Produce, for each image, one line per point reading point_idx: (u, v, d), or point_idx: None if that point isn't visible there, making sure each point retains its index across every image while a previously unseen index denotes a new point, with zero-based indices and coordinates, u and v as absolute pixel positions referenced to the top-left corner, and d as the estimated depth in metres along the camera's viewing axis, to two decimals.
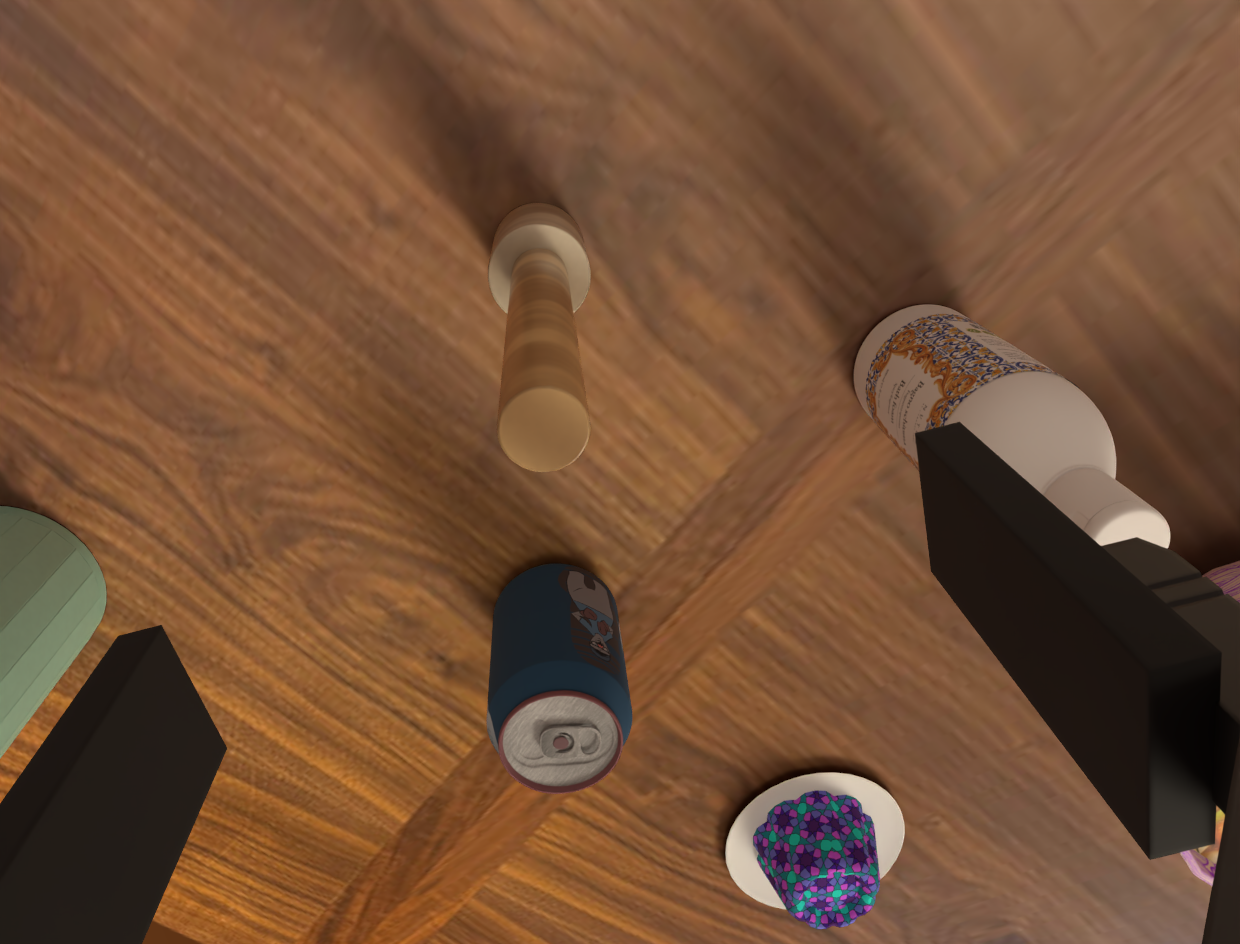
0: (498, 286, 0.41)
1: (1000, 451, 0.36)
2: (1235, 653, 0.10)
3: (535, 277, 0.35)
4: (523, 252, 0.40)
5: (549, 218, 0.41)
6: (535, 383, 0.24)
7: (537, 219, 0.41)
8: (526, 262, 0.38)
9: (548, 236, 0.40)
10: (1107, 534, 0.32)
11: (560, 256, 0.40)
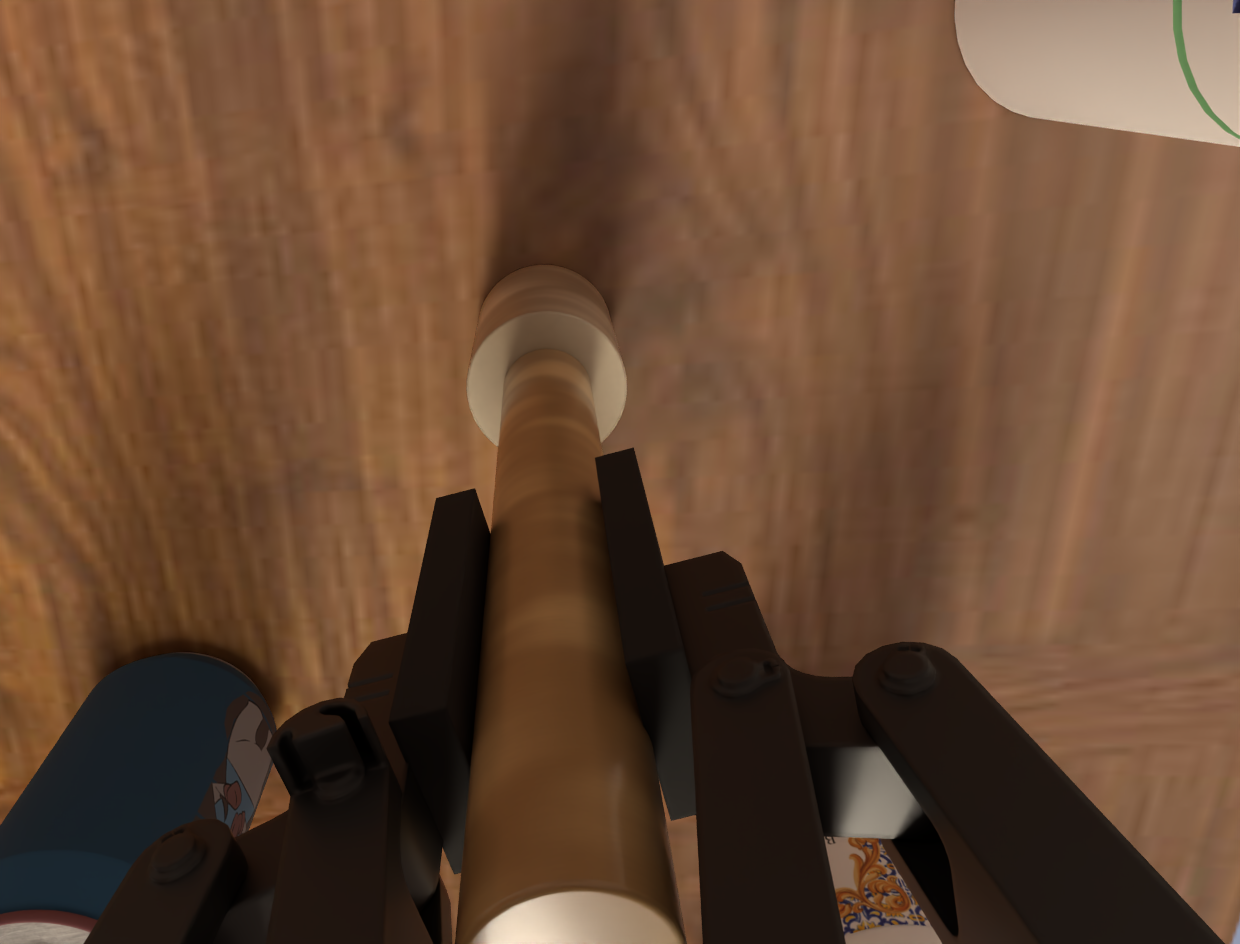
0: (487, 358, 0.26)
1: None
2: (728, 649, 0.13)
3: (582, 432, 0.21)
4: (555, 348, 0.26)
5: (610, 329, 0.27)
6: (638, 879, 0.10)
7: (599, 321, 0.27)
8: (563, 378, 0.23)
9: (600, 357, 0.26)
10: None
11: (592, 390, 0.26)
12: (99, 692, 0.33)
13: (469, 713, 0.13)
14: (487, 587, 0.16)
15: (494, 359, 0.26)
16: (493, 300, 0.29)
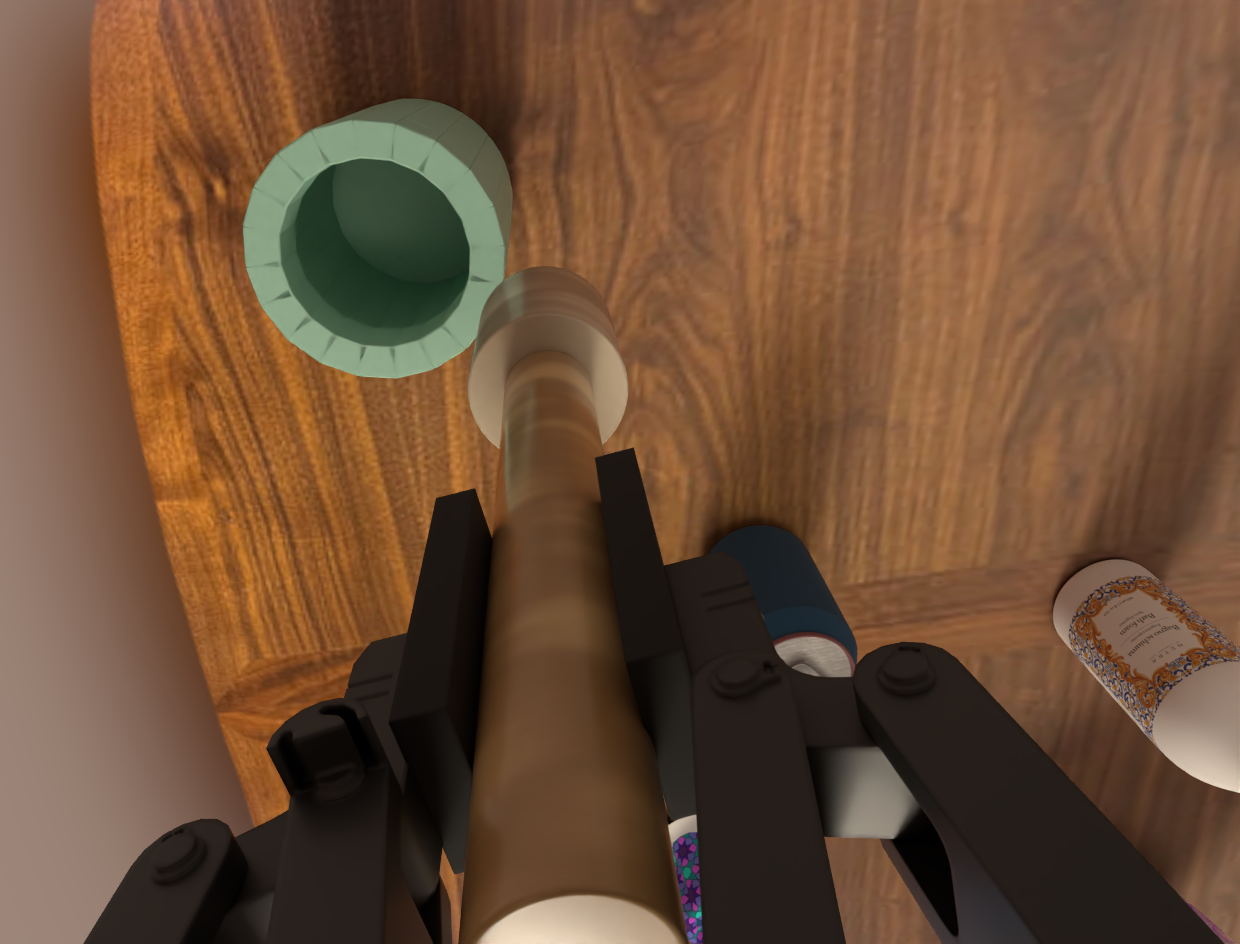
0: (488, 361, 0.26)
1: None
2: (728, 649, 0.13)
3: (584, 434, 0.21)
4: (556, 350, 0.26)
5: (611, 331, 0.27)
6: (641, 882, 0.10)
7: (600, 323, 0.27)
8: (564, 380, 0.23)
9: (602, 359, 0.26)
10: None
11: (593, 392, 0.26)
12: (734, 543, 0.56)
13: (469, 713, 0.13)
14: (489, 590, 0.16)
15: (495, 361, 0.26)
16: (494, 302, 0.29)
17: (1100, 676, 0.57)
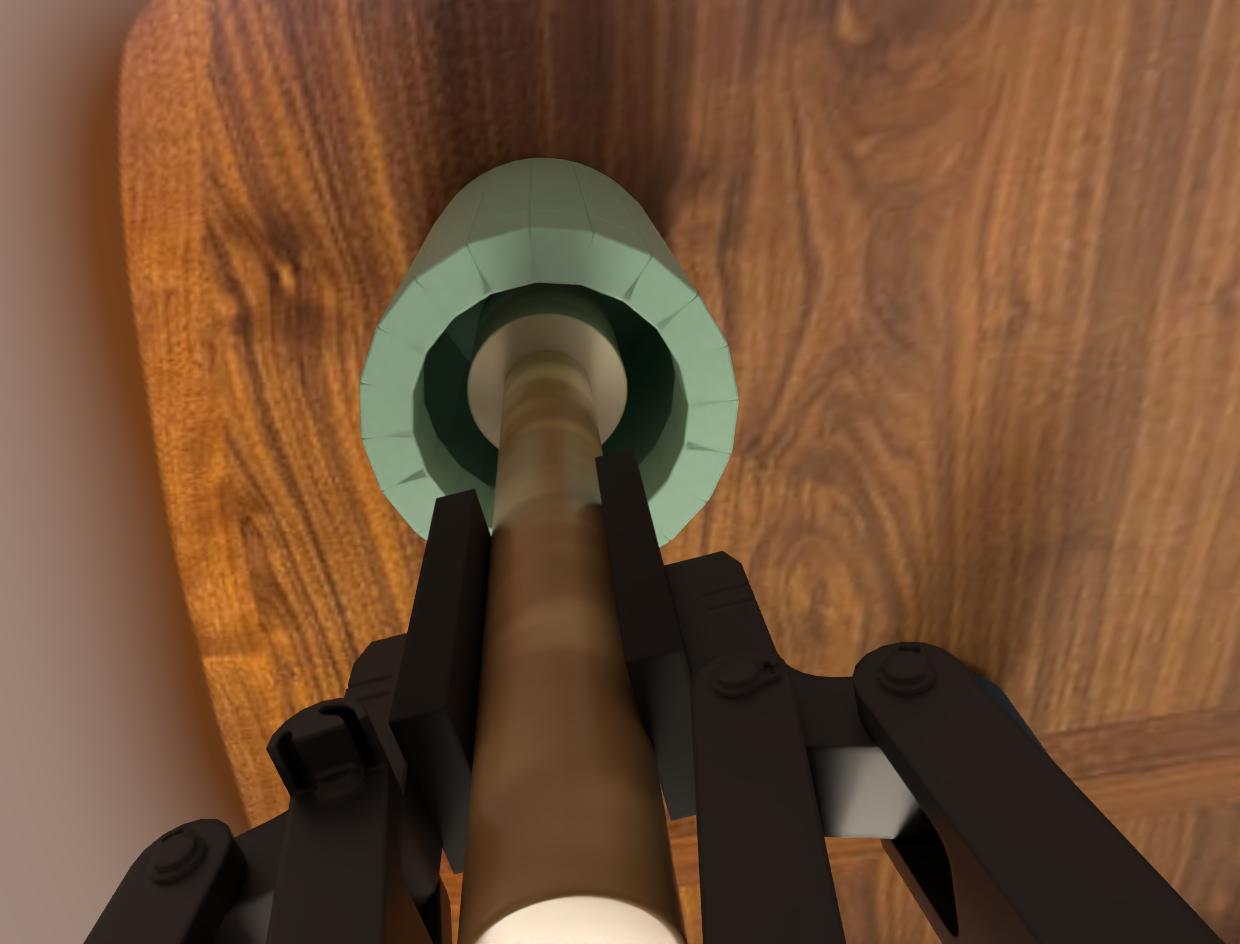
0: (488, 361, 0.26)
1: None
2: (728, 649, 0.13)
3: (583, 434, 0.21)
4: (555, 350, 0.26)
5: (610, 331, 0.27)
6: (640, 884, 0.10)
7: (599, 323, 0.27)
8: (563, 380, 0.23)
9: (601, 359, 0.26)
10: None
11: (592, 392, 0.26)
12: None
13: (469, 713, 0.13)
14: (488, 590, 0.16)
15: (494, 361, 0.26)
16: (493, 302, 0.29)
17: None
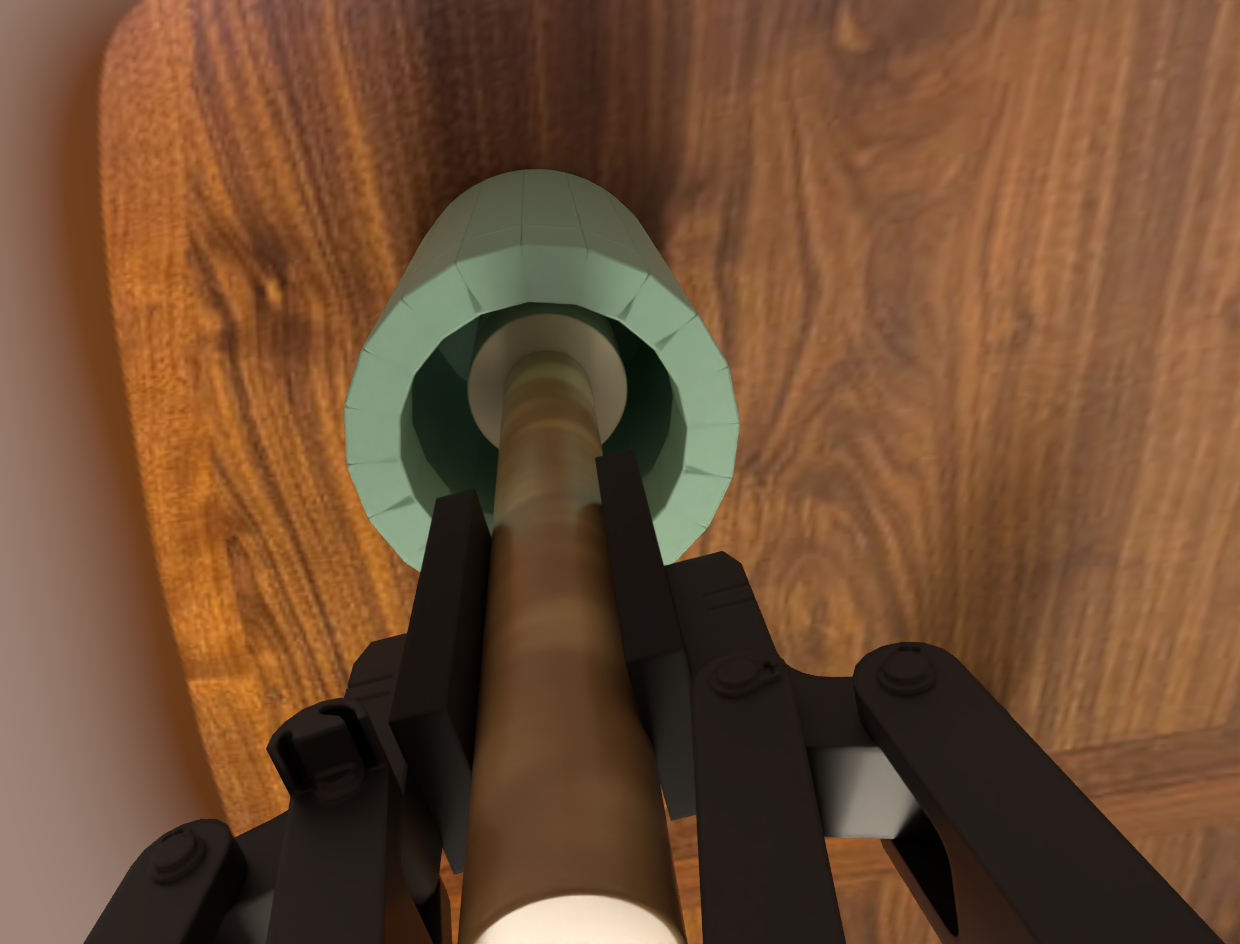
0: (488, 361, 0.26)
1: None
2: (728, 649, 0.13)
3: (583, 434, 0.21)
4: (556, 350, 0.26)
5: (610, 331, 0.27)
6: (640, 882, 0.10)
7: (600, 323, 0.27)
8: (563, 380, 0.23)
9: (601, 359, 0.26)
10: None
11: (592, 392, 0.26)
12: None
13: (469, 713, 0.13)
14: (488, 590, 0.16)
15: (494, 361, 0.26)
16: None
17: None
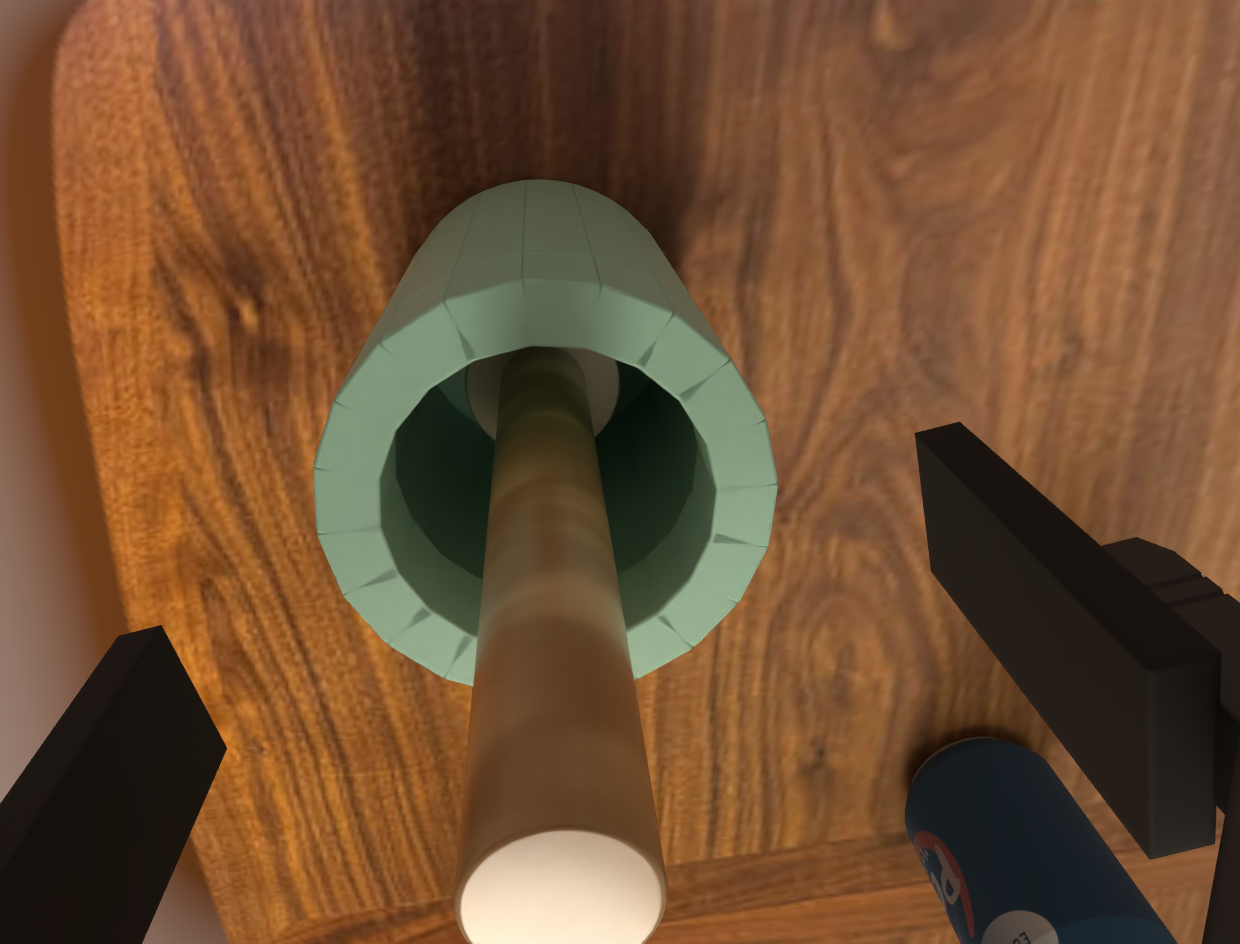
0: None
1: None
2: (1235, 653, 0.10)
3: (576, 424, 0.22)
4: None
5: None
6: (622, 821, 0.10)
7: None
8: (558, 373, 0.24)
9: (594, 354, 0.27)
10: None
11: (586, 386, 0.27)
12: (964, 775, 0.40)
13: None
14: (485, 568, 0.17)
15: (492, 356, 0.27)
16: None
17: None
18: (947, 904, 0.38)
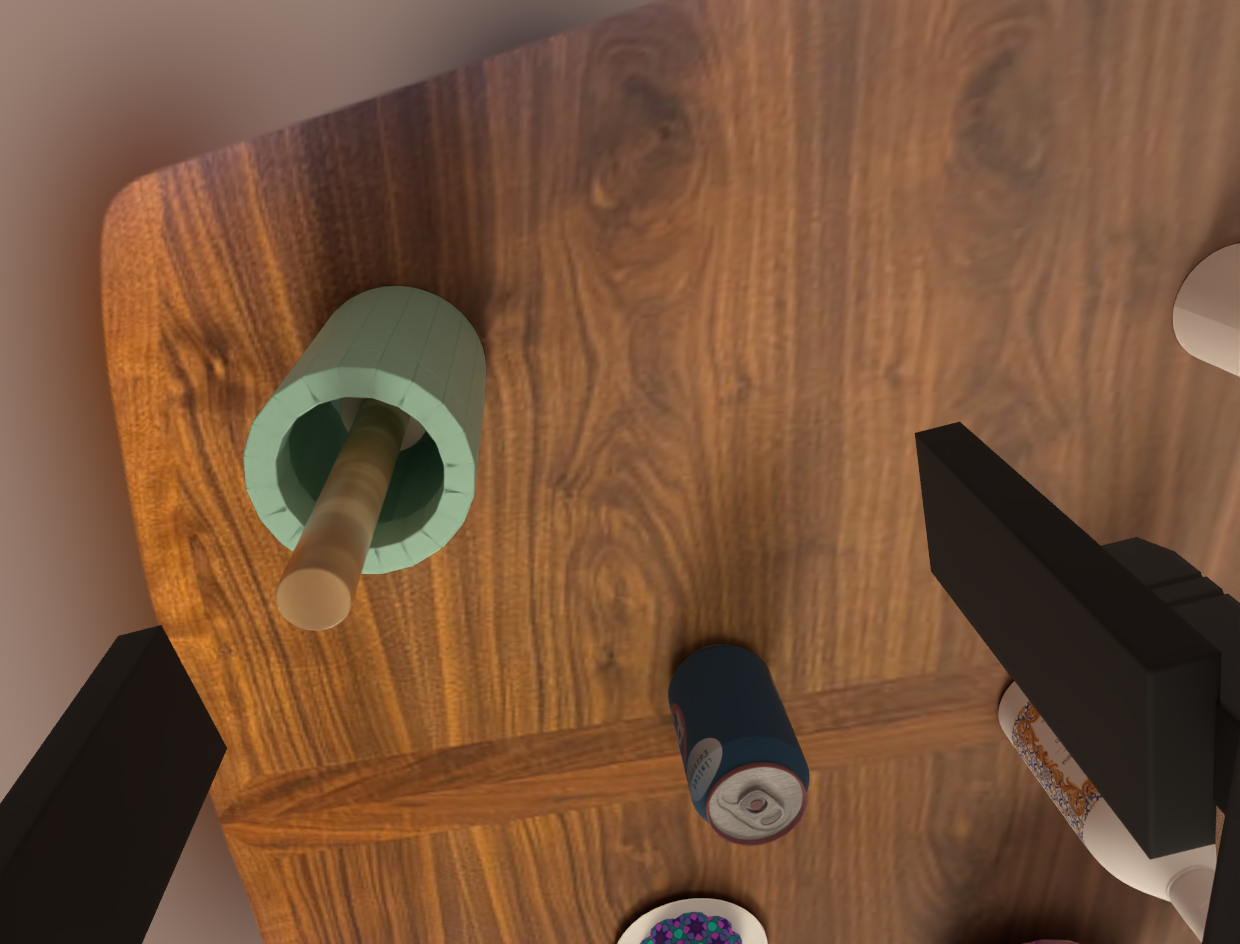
0: None
1: None
2: (1235, 653, 0.10)
3: (383, 434, 0.42)
4: None
5: None
6: (332, 569, 0.31)
7: None
8: (385, 406, 0.45)
9: None
10: None
11: None
12: (698, 665, 0.60)
13: None
14: None
15: None
16: None
17: (1039, 779, 0.62)
18: (679, 746, 0.58)
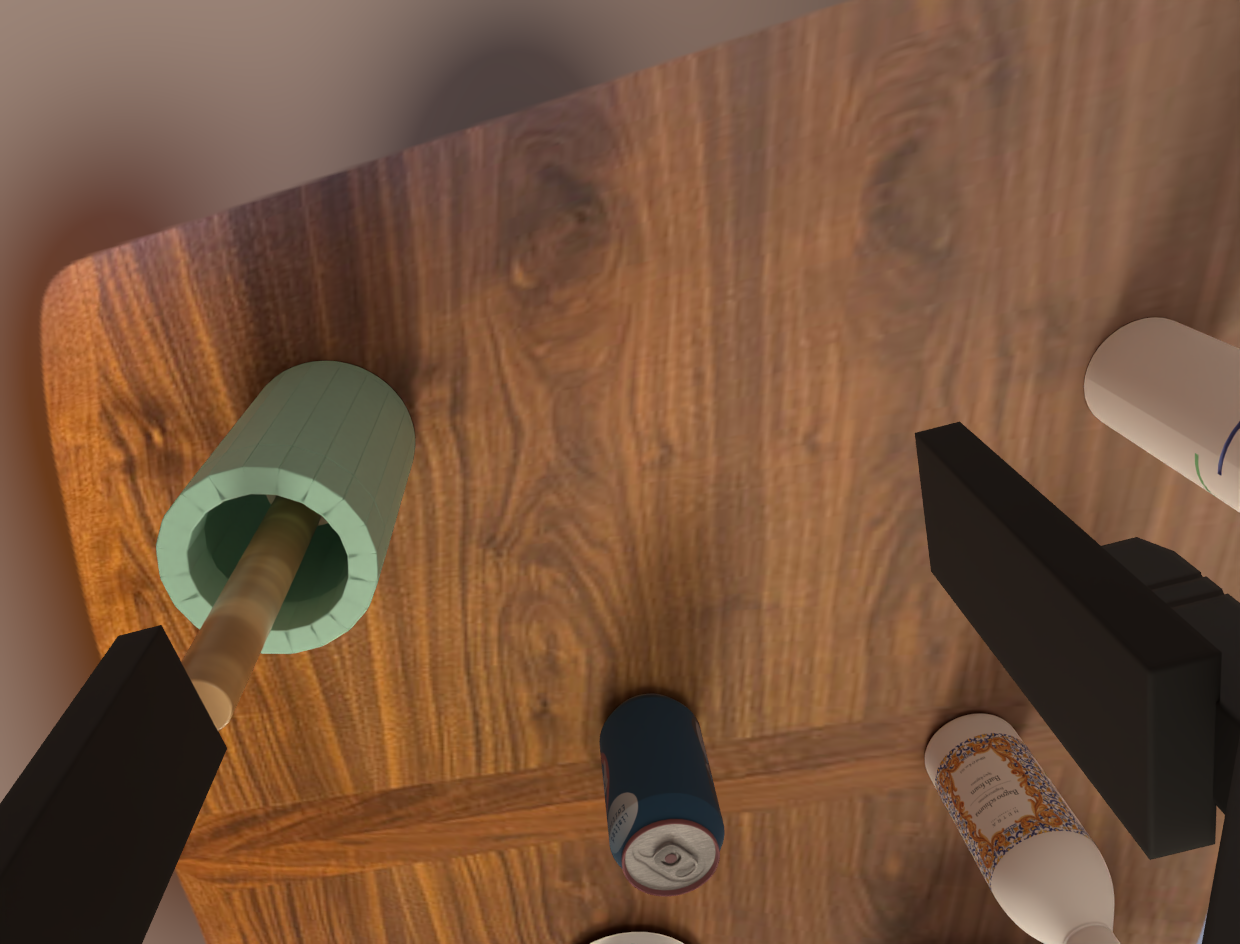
0: None
1: (1067, 883, 0.55)
2: (1235, 653, 0.10)
3: (295, 520, 0.44)
4: None
5: None
6: (214, 680, 0.33)
7: None
8: None
9: None
10: None
11: None
12: (626, 716, 0.62)
13: None
14: None
15: None
16: None
17: (957, 827, 0.64)
18: None
